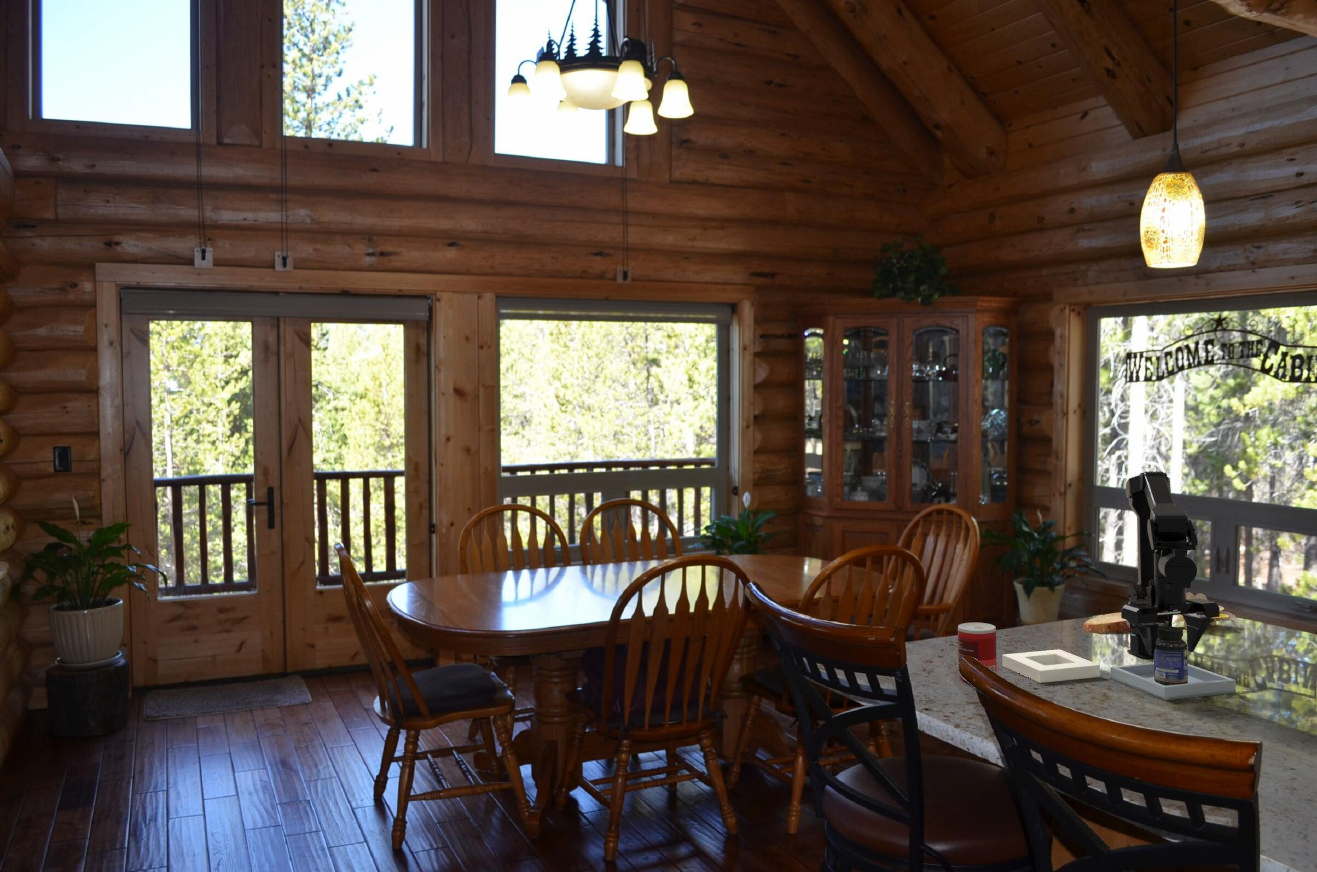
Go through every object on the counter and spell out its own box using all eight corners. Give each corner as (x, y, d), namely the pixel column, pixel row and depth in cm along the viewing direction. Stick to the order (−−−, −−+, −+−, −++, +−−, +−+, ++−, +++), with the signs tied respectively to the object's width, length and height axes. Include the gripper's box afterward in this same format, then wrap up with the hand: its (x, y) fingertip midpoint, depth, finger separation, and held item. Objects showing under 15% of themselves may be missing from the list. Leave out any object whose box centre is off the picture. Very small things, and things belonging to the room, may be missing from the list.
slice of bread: (1081, 633, 255) (1081, 618, 255) (1087, 618, 271) (1087, 604, 271) (1162, 639, 247) (1162, 624, 247) (1164, 624, 263) (1164, 609, 263)
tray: (1177, 672, 218) (1177, 660, 218) (1235, 692, 203) (1235, 680, 202) (1110, 678, 215) (1110, 666, 214) (1164, 700, 199) (1164, 687, 199)
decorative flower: (1198, 628, 248) (1192, 586, 250) (1161, 630, 258) (1155, 590, 260) (1245, 626, 253) (1238, 585, 255) (1206, 628, 263) (1200, 589, 266)
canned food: (997, 674, 220) (996, 623, 220) (996, 684, 213) (995, 631, 212) (959, 672, 223) (958, 621, 222) (957, 682, 215) (956, 629, 215)
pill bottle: (1192, 687, 205) (1191, 632, 205) (1158, 686, 206) (1157, 631, 206) (1182, 679, 211) (1182, 625, 211) (1150, 678, 212) (1149, 624, 212)
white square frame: (1059, 660, 230) (1059, 649, 230) (1099, 676, 216) (1099, 664, 216) (1002, 665, 227) (1002, 654, 227) (1039, 682, 213) (1039, 670, 213)
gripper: (1181, 566, 218) (1182, 640, 218) (1103, 572, 213) (1104, 648, 214) (1221, 575, 207) (1222, 653, 207) (1139, 581, 203) (1140, 661, 203)
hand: (1170, 653), depth 208 cm, fingers open, 9 cm apart
